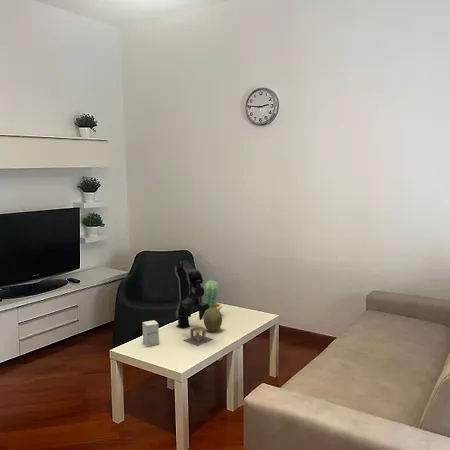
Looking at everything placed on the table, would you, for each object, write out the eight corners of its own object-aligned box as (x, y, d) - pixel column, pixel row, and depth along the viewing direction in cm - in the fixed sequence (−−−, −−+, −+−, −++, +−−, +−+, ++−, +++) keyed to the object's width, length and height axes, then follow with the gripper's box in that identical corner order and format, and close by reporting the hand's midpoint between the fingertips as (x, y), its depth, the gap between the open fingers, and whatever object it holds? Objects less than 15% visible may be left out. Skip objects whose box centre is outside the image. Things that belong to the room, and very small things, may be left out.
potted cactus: (224, 319, 311) (224, 282, 308) (201, 322, 307) (201, 284, 304) (219, 312, 326) (218, 277, 323) (197, 314, 322) (196, 278, 319)
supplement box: (146, 347, 266) (146, 325, 265) (142, 342, 273) (142, 321, 271) (159, 344, 270) (158, 323, 268) (155, 340, 276) (154, 319, 274)
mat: (183, 340, 275) (183, 340, 275) (198, 335, 284) (198, 334, 284) (198, 345, 267) (198, 345, 267) (212, 339, 276) (212, 339, 276)
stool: (190, 339, 275) (190, 328, 274) (197, 336, 280) (197, 325, 279) (197, 342, 271) (197, 330, 270) (205, 339, 276) (205, 327, 275)
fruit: (225, 331, 290) (225, 307, 288) (211, 335, 283) (211, 311, 281) (214, 326, 299) (213, 303, 297) (200, 330, 291) (199, 307, 290)
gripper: (172, 292, 273) (173, 318, 275) (195, 298, 261) (196, 325, 263) (186, 288, 281) (187, 313, 284) (209, 294, 269) (210, 320, 271)
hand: (194, 318), depth 275 cm, fingers open, 9 cm apart
